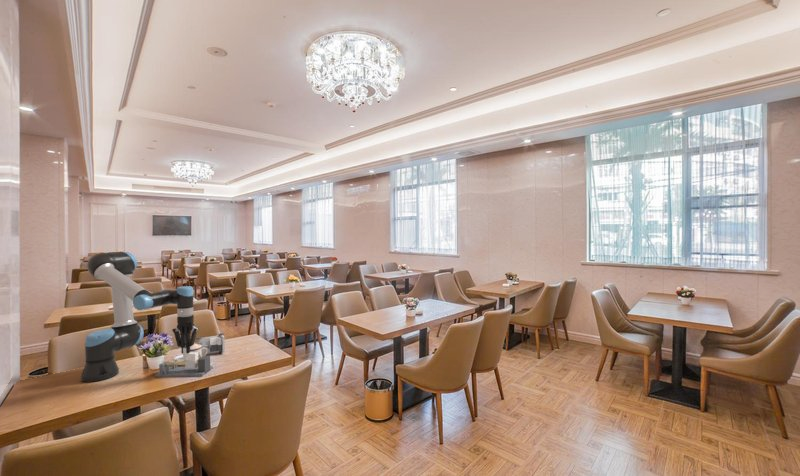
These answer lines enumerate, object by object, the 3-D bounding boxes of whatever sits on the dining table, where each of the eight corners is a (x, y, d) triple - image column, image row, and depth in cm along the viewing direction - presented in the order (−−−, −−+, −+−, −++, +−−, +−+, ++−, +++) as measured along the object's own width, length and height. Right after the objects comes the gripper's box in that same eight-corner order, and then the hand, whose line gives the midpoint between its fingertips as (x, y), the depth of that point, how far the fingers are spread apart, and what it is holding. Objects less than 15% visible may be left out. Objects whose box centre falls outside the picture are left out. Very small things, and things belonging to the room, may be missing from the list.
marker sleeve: (185, 368, 187) (185, 354, 187) (189, 365, 191) (189, 351, 191) (194, 368, 187) (194, 354, 187) (198, 365, 191) (198, 351, 191)
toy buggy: (193, 361, 206) (193, 341, 206) (191, 357, 213) (191, 338, 213) (227, 354, 217) (227, 335, 217) (223, 350, 225) (223, 332, 225)
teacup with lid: (186, 366, 198) (185, 346, 198) (182, 362, 204) (181, 342, 204) (209, 361, 206) (209, 341, 206) (205, 357, 213) (204, 338, 212)
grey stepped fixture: (155, 377, 183) (155, 361, 183) (168, 369, 194) (168, 354, 194) (202, 376, 184) (202, 361, 184) (212, 368, 195) (212, 354, 195)
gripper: (168, 317, 185) (169, 361, 185) (193, 316, 185) (194, 361, 185) (177, 314, 192) (177, 357, 193) (201, 313, 193) (201, 356, 193)
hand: (185, 359), depth 189 cm, fingers closed
